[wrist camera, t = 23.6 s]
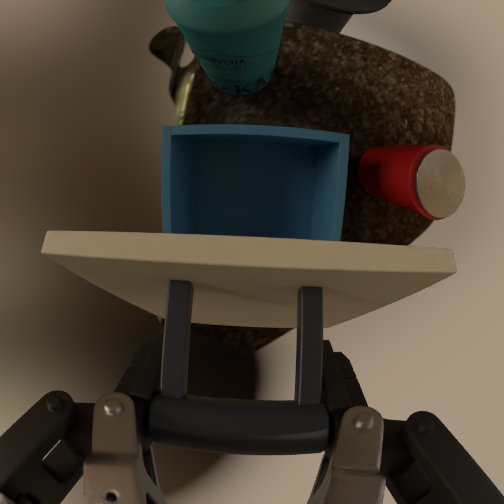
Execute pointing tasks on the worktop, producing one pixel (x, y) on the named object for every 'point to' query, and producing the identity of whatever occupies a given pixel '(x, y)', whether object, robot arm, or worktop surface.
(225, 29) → the beverage bottle
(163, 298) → the lid
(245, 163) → the cool box
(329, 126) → the worktop surface
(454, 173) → the can
